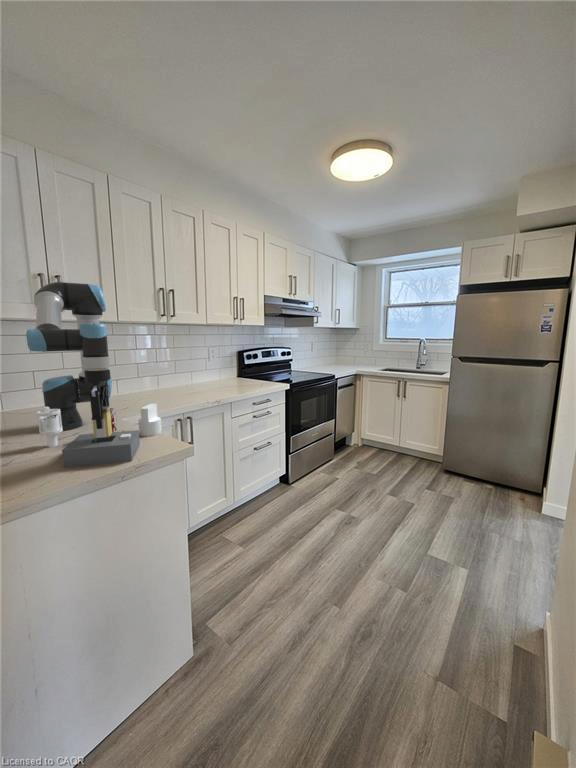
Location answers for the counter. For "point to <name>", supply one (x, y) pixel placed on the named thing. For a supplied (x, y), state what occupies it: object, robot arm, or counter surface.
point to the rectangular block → (107, 422)
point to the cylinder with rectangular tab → (149, 421)
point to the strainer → (50, 425)
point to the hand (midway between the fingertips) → (103, 434)
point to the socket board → (101, 449)
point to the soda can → (113, 420)
